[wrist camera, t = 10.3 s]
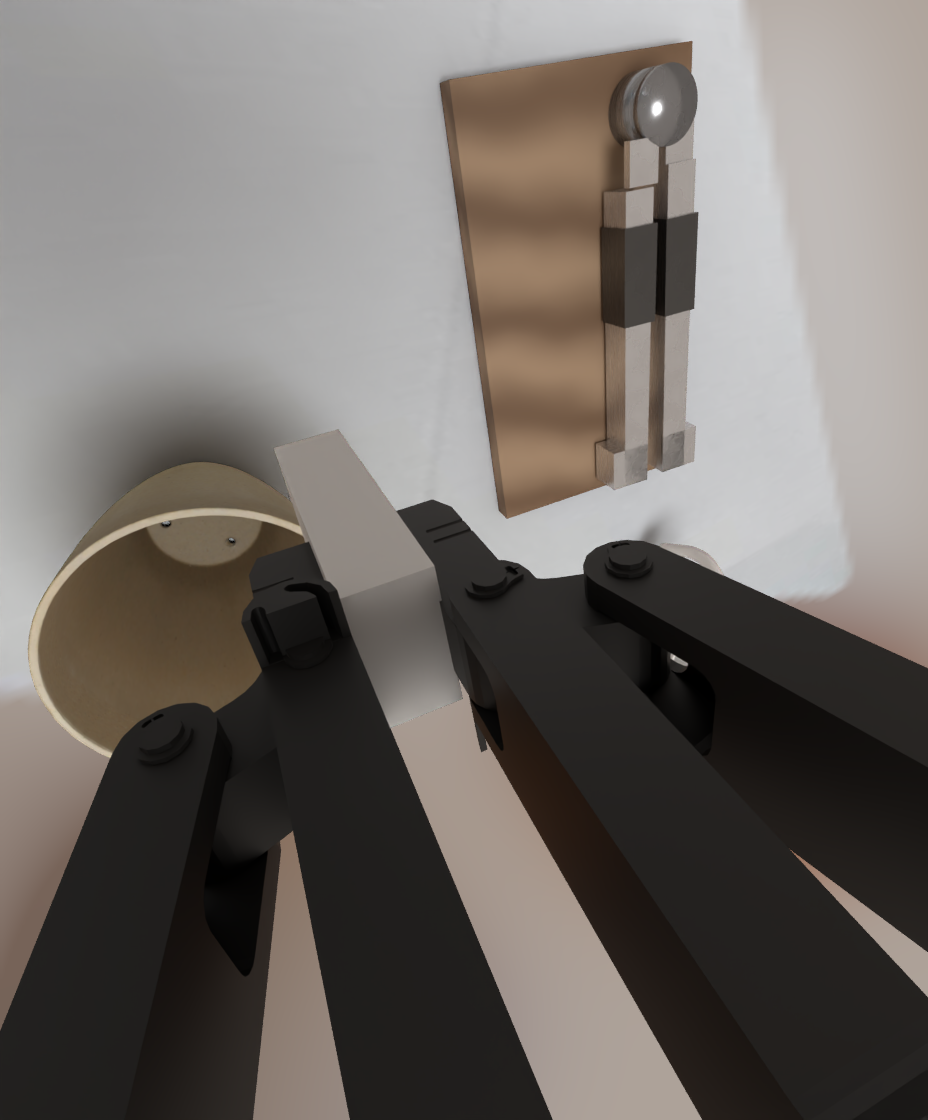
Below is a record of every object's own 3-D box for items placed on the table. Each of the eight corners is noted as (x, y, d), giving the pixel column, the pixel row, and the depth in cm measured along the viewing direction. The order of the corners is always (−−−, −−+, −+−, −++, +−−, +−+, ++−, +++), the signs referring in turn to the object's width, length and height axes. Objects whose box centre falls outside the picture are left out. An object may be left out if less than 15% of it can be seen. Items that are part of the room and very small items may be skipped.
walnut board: (439, 83, 36) (449, 79, 35) (676, 45, 40) (692, 40, 39) (499, 510, 52) (507, 518, 51) (666, 454, 56) (677, 460, 54)
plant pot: (71, 387, 37) (18, 494, 24) (329, 421, 43) (396, 520, 30) (74, 610, 43) (34, 791, 30) (300, 610, 49) (346, 759, 36)
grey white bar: (607, 75, 38) (633, 68, 36) (686, 62, 39) (716, 55, 37) (616, 470, 52) (635, 482, 50) (674, 451, 54) (695, 462, 51)
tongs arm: (586, 77, 38) (614, 70, 35) (667, 65, 39) (699, 58, 37) (596, 478, 52) (616, 492, 49) (655, 459, 53) (678, 472, 51)
